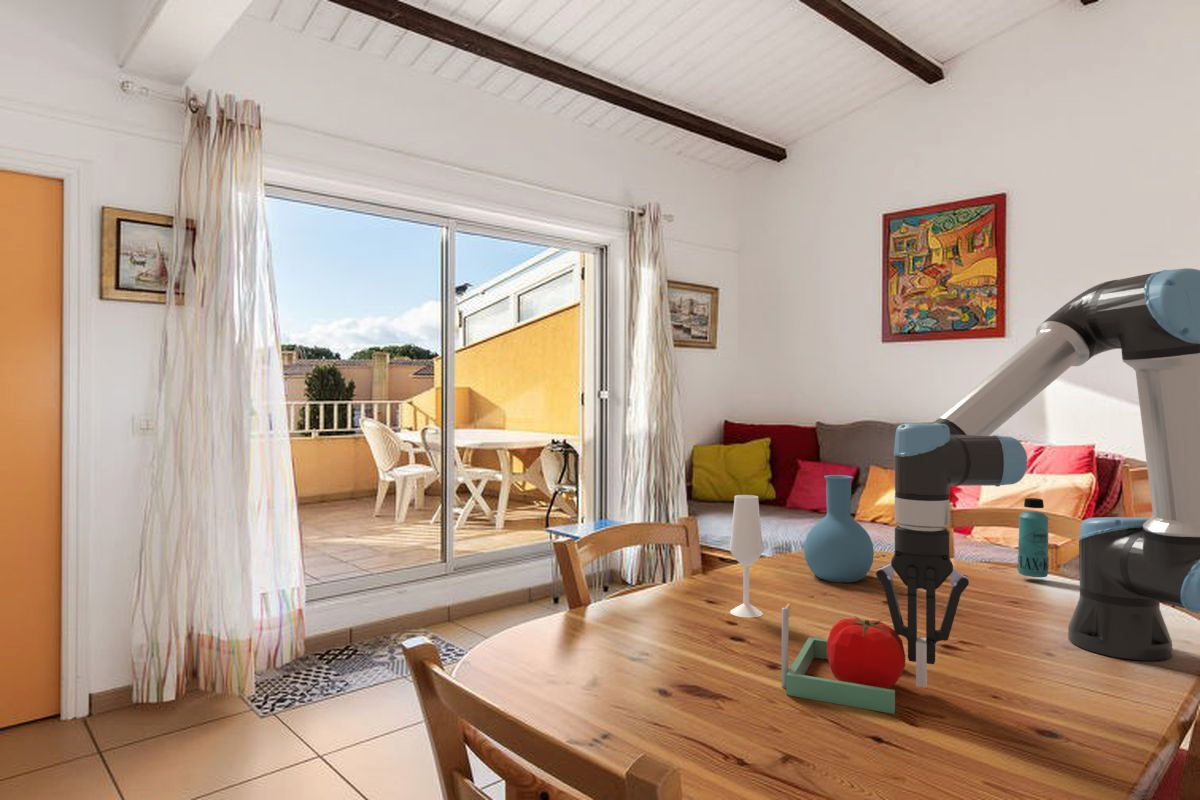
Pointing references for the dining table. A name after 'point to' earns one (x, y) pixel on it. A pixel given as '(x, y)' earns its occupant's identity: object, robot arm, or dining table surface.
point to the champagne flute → (746, 545)
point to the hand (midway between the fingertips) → (921, 683)
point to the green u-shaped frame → (823, 687)
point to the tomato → (865, 653)
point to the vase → (838, 538)
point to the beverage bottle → (1033, 541)
